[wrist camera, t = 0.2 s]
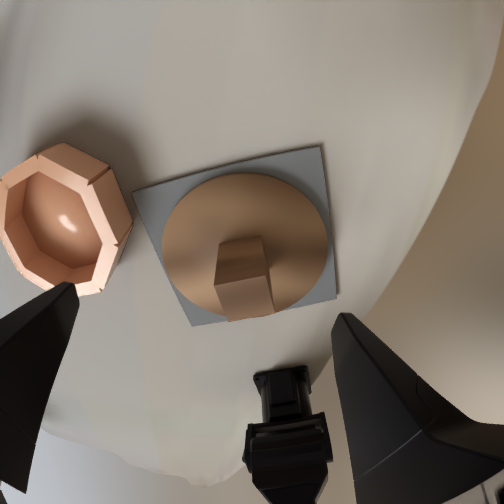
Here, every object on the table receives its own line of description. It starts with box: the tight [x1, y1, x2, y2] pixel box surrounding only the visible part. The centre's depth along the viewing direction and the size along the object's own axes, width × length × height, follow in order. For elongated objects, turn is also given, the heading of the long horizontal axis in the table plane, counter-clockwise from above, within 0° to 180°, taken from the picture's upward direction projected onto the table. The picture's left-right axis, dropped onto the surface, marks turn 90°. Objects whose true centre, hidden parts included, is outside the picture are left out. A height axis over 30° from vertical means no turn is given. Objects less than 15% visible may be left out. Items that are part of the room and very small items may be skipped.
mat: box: [132, 146, 337, 326], centre depth 24 cm, size 14×14×1 cm
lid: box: [161, 172, 328, 322], centre depth 21 cm, size 13×13×6 cm
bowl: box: [0, 143, 133, 296], centre depth 20 cm, size 12×12×4 cm
